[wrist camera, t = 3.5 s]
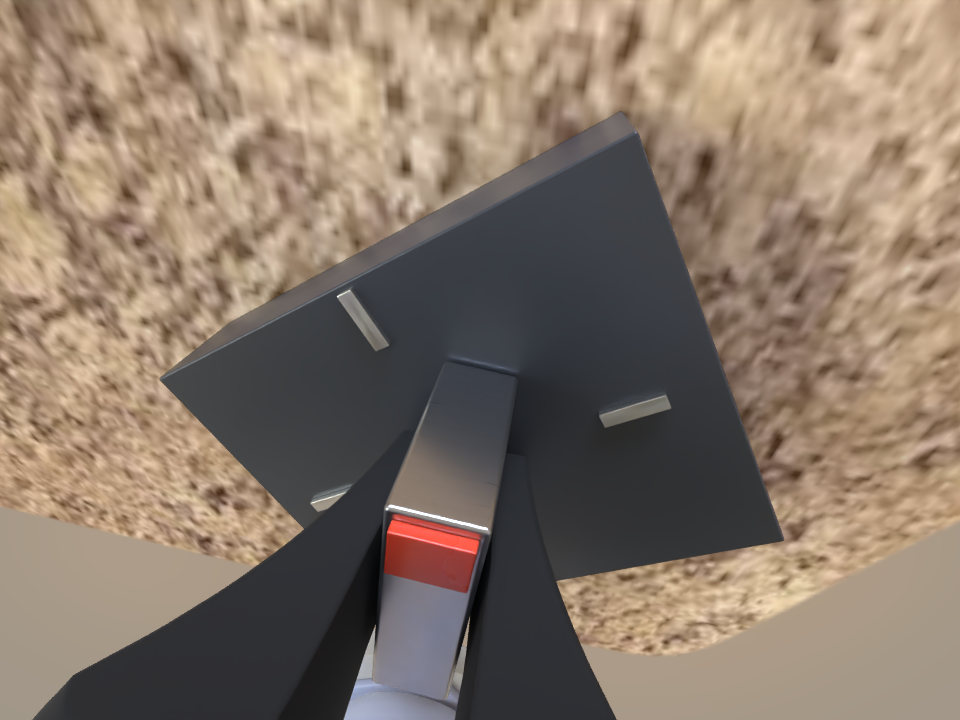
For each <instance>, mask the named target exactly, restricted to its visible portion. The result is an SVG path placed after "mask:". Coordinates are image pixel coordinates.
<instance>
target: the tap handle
mask: <svg viewBox="0 0 960 720" xmlns="http://www.w3.org/2000/svg"><path fill="white" fill-rule="evenodd" d="M517 385H518V380H517V378H516V377H515V376H511V375H506V374H502V373H497V372H493V371H488V370H484V369H480V368H475V367H471V366H466V365H462V364H457V363H453V362H445V363H444V365H443V367H442V369H441V372H440V374H439V377H438V379H437V381H436V384H435V386H434V389H433V391H432V393H431V396H430V398H429V401H428V403H427V405H426V408H425V410H424V413H423V415H422V417H421V420H420V422H419V425H418V427H417V429H416V432H415V434H414V436H413V439H412V441H411V444H410V446H409V448H408V451H407V453H406V456H405V458H404V460H403V463H402V465H401V468H400V470H399V472H398V475H397V477H396V480H395V482H394V484H393V487H392V489H391V492H390V494H389V496H388V499H387V501H386V504H385V506H384V518H383V532H382V546H381V560H380V574H379V588H378V602H377V617H376V631H375V645H374V659H373V673H372V680H373V681H374V682H375V683H378V684H382V685H385V686H389V687H393V688H397V689H401V690H405V691H408V692H412V693H416V694H420V695H424V696H428V697H431V698H435V699H439V700H446V699H447V697H448V695H449V692H450V688H451V684H452V680H453V677H454V673H455V669H456V666H457V662H458V658H459V654H460V651H461V647H462V643H463V639H464V636H465V632H466V628H467V624H468V620H469V617H470V613H471V610H472V606H473V602H474V598H475V595H476V591H477V587H478V583H479V580H480V576H481V572H482V569H483V565H484V561H485V557H486V554H487V550H488V546H489V542H490V539H491V535H492V531H493V525H494V519H495V513H496V507H497V502H498V496H499V490H500V484H501V478H502V472H503V467H504V461H505V455H506V449H507V443H508V438H509V432H510V426H511V420H512V414H513V408H514V403H515V397H516V391H517Z"/></svg>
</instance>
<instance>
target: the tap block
mask: <svg viewBox="0 0 960 720" xmlns="http://www.w3.org/2000/svg"><path fill="white" fill-rule="evenodd" d="M445 362H453V363H457V364H462V365H466V366H471V367H475V368H480V369H484V370H488V371H493V372H497V373H502V374H506V375H511V376H515V377H516V378H517V380H518V385H517V391H516V397H515V403H514V408H513V414H512V420H511V426H510V432H509V438H508V443H507V449H506V452H507V453H511V454H516V455H520V456H525V457H526V458H527V459H528V461H529V469H530V479H531V486H532V492H533V497H534V503H535V508H536V512H537V517H538V521H539V525H540V529H541V532H542V536H543V540H544V544H545V548H546V551H547V554H548V558H549V561H550V564H551V567H552V570H553V573H554V576H555V579H556V581H558V580H564V579H570V578H576V577H581V576H587V575H593V574H598V573H604V572H610V571H615V570H621V569H627V568H633V567H638V566H644V565H650V564H655V563H661V562H667V561H672V560H678V559H684V558H690V557H695V556H701V555H707V554H712V553H718V552H724V551H729V550H735V549H741V548H747V547H752V546H758V545H764V544H769V543H775V542H781V541H784V537H783V534H782V531H781V528H780V526H779V523H778V520H777V517H776V515H775V512H774V509H773V506H772V503H771V501H770V498H769V495H768V492H767V489H766V487H765V484H764V481H763V478H762V476H761V473H760V470H759V467H758V464H757V462H756V459H755V456H754V453H753V451H752V448H751V445H750V442H749V439H748V437H747V434H746V431H745V428H744V426H743V423H742V420H741V417H740V414H739V412H738V409H737V406H736V403H735V401H734V398H733V395H732V392H731V389H730V387H729V384H728V381H727V378H726V375H725V373H724V370H723V367H722V364H721V362H720V359H719V356H718V353H717V350H716V348H715V345H714V342H713V339H712V337H711V334H710V331H709V328H708V325H707V323H706V320H705V317H704V314H703V312H702V309H701V306H700V303H699V300H698V298H697V295H696V292H695V289H694V286H693V284H692V281H691V278H690V275H689V273H688V270H687V267H686V264H685V261H684V259H683V256H682V253H681V250H680V248H679V245H678V242H677V239H676V236H675V234H674V231H673V228H672V225H671V223H670V220H669V217H668V214H667V211H666V209H665V206H664V203H663V200H662V198H661V195H660V192H659V189H658V186H657V184H656V181H655V178H654V175H653V172H652V170H651V167H650V164H649V161H648V159H647V156H646V153H645V150H644V147H643V145H642V142H641V139H640V136H639V134H638V132H637V131H636V129H635V128H634V127H633V125H632V124H631V123H630V121H629V120H628V119H627V117H626V116H625V115H624V113H623V112H622V111H621V112H618V113H616V114H614V115H612V116H611V117H609V118H607V119H605V120H603V121H601V122H600V123H598V124H596V125H594V126H592V127H590V128H588V129H587V130H585V131H583V132H581V133H579V134H577V135H576V136H574V137H572V138H570V139H568V140H566V141H564V142H563V143H561V144H559V145H557V146H555V147H553V148H551V149H550V150H548V151H546V152H544V153H542V154H540V155H539V156H537V157H535V158H533V159H531V160H529V161H527V162H526V163H524V164H522V165H520V166H518V167H516V168H515V169H513V170H511V171H509V172H507V173H505V174H503V175H502V176H500V177H498V178H496V179H494V180H492V181H490V182H489V183H487V184H485V185H483V186H481V187H479V188H478V189H476V190H474V191H472V192H470V193H468V194H466V195H465V196H463V197H461V198H459V199H457V200H455V201H453V202H452V203H450V204H448V205H446V206H444V207H442V208H441V209H439V210H437V211H435V212H433V213H431V214H429V215H428V216H426V217H424V218H422V219H420V220H418V221H417V222H415V223H413V224H411V225H409V226H407V227H405V228H404V229H402V230H400V231H398V232H396V233H394V234H392V235H391V236H389V237H387V238H385V239H383V240H381V241H380V242H378V243H376V244H374V245H372V246H370V247H368V248H367V249H365V250H363V251H361V252H359V253H357V254H356V255H354V256H352V257H350V258H348V259H346V260H344V261H343V262H341V263H339V264H337V265H335V266H333V267H331V268H330V269H328V270H326V271H324V272H322V273H320V274H319V275H317V276H315V277H313V278H311V279H309V280H307V281H306V282H304V283H302V284H300V285H298V286H296V287H295V288H293V289H291V290H289V291H287V292H285V293H283V294H282V295H280V296H278V297H276V298H274V299H272V300H270V301H269V302H267V303H265V304H263V305H261V306H259V307H258V308H256V309H254V310H252V311H250V312H248V313H246V314H245V315H243V316H241V317H239V318H237V319H235V320H234V321H232V322H230V323H228V324H227V325H226V326H225V327H223V328H222V329H221V330H220V331H218V332H217V333H216V334H215V335H213V336H212V337H211V338H209V339H208V340H207V341H206V342H204V343H203V344H202V345H201V346H199V347H198V348H197V349H196V350H194V351H193V352H192V353H190V354H189V355H188V356H187V357H185V358H184V359H183V360H182V361H180V362H179V363H178V364H177V365H175V366H174V367H173V368H172V369H170V370H169V371H168V372H166V373H165V374H164V375H163V376H161V377H160V381H161V382H162V383H163V384H164V385H165V386H166V387H167V388H168V389H169V390H170V391H171V392H172V393H173V394H174V395H175V396H176V397H177V398H178V399H179V400H180V401H181V402H182V403H183V404H184V405H185V407H186V408H187V409H188V410H189V411H190V412H191V413H192V414H193V415H194V416H195V417H196V418H197V419H198V420H199V421H200V422H201V423H202V424H203V425H204V426H205V427H206V428H207V429H208V430H209V431H210V432H211V433H212V434H213V435H214V436H215V437H216V438H217V439H218V441H219V442H220V443H221V444H222V445H223V446H224V447H225V448H226V449H227V450H228V451H229V452H230V453H231V454H232V455H233V456H234V457H235V458H236V459H237V460H238V461H239V462H240V463H241V464H242V465H243V466H244V467H245V468H246V469H247V470H248V471H249V472H250V473H251V475H252V476H253V477H254V478H255V479H256V480H257V481H258V482H259V483H260V484H261V485H262V486H263V487H264V488H265V489H266V490H267V491H268V492H269V493H270V494H271V495H272V496H273V497H274V498H275V499H276V500H277V501H278V502H279V503H280V504H281V505H282V506H283V508H284V509H285V510H286V511H287V512H288V513H289V514H290V515H291V516H292V517H293V518H294V519H295V520H296V521H297V522H298V523H299V524H300V525H301V526H302V527H303V528H304V529H305V528H307V527H308V526H309V525H310V524H311V523H313V522H314V521H315V520H316V519H317V518H318V517H319V516H320V515H322V514H323V513H324V512H325V511H326V510H327V509H328V508H329V507H330V506H332V505H333V504H334V503H335V502H336V501H337V500H338V499H339V498H340V497H341V496H343V495H344V494H345V493H346V492H347V491H348V490H349V489H350V488H351V487H352V486H353V485H354V484H355V483H356V482H357V481H358V480H359V479H360V478H361V477H362V476H363V475H364V474H365V473H366V472H367V471H368V470H369V469H370V467H371V466H372V465H373V464H374V463H375V462H376V461H377V460H378V459H379V458H380V457H381V455H382V454H383V453H384V452H385V451H386V450H387V449H388V447H389V446H390V445H391V444H392V443H393V441H394V440H395V439H396V438H397V436H398V435H399V434H400V433H401V432H402V431H404V430H409V431H414V432H416V429H417V427H418V425H419V422H420V420H421V417H422V415H423V413H424V410H425V408H426V405H427V403H428V401H429V398H430V396H431V393H432V391H433V389H434V386H435V384H436V381H437V379H438V377H439V374H440V372H441V369H442V367H443V365H444V363H445Z"/></svg>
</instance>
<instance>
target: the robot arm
mask: <svg viewBox="0 0 960 720" xmlns="http://www.w3.org/2000/svg"><path fill="white" fill-rule="evenodd" d="M414 434H415V432H414V431H409V430H404V431H402V432H401V433H400V434H399V435H398V436H397V438H396V439H395V440H394V441H393V443H392V444H391V445H390V446H389V447H388V449H387V450H386V451H385V452H384V453H383V454H382V455H381V457H380V458H379V459H378V460H377V461H376V462H375V463H374V464H373V465H372V466H371V467H370V469H369V470H368V471H367V472H366V473H365V474H364V475H363V476H362V477H361V478H360V479H359V480H358V481H357V482H356V483H355V484H354V485H353V486H352V487H351V488H350V489H349V490H348V491H347V492H346V493H345V494H344V495H343V496H341V497H340V498H339V499H338V500H337V501H336V502H335V503H334V504H333V505H332V506H330V507H329V508H328V509H327V510H326V511H325V512H324V513H323V514H322V515H320V516H319V517H318V518H317V519H316V520H315V521H314V522H313V523H311V524H310V525H309V526H308V527H307V528H305V529H304V530H303V531H302V532H301V533H299V534H298V535H297V536H296V537H294V538H293V539H292V540H291V541H289V542H288V543H287V544H285V545H284V546H283V547H282V548H280V549H279V550H278V551H276V552H275V553H274V554H272V555H271V556H270V557H268V558H267V559H266V560H264V561H263V562H261V563H260V564H259V565H257V566H256V567H254V568H253V569H252V570H250V571H249V572H247V573H246V574H245V575H243V576H242V577H240V578H239V579H238V580H236V581H235V582H233V583H232V584H230V585H229V586H227V587H226V588H224V589H223V590H221V591H219V592H218V593H216V594H215V595H213V596H212V597H210V598H209V599H207V600H205V601H203V602H202V603H200V604H199V605H197V606H195V607H194V608H192V609H191V610H189V611H187V612H186V613H184V614H182V615H181V616H179V617H178V618H176V619H174V620H173V621H171V622H169V623H168V624H166V625H165V626H163V627H161V628H159V629H157V630H156V631H154V632H152V633H150V634H149V635H147V636H145V637H143V638H141V639H140V640H138V641H136V642H134V643H132V644H130V645H128V646H126V647H125V648H123V649H121V650H119V651H118V652H115V653H113V654H112V655H110V656H108V657H106V658H104V659H103V660H101V661H99V662H97V663H95V664H93V665H91V666H89V667H87V668H86V669H84V670H82V671H80V672H78V673H76V674H75V675H73V676H72V677H71V678H70V680H69V681H68V682H67V683H66V684H65V685H64V686H63V687H62V688H61V689H60V690H59V692H58V693H57V694H56V695H55V696H54V697H53V698H52V699H51V700H50V701H49V702H48V703H47V704H46V705H45V706H44V707H43V708H42V709H41V711H40V712H39V713H38V714H37V715H36V716H35V717H34V719H33V720H616V717H615V715H614V713H613V711H612V709H611V708H610V705H609V703H608V701H607V699H606V697H605V695H604V693H603V692H602V689H601V687H600V685H599V683H598V681H597V679H596V677H595V675H594V673H593V671H592V669H591V667H590V664H589V662H588V660H587V658H586V656H585V653H584V651H583V649H582V646H581V644H580V642H579V639H578V637H577V635H576V633H575V630H574V628H573V625H572V623H571V620H570V618H569V615H568V613H567V610H566V607H565V605H564V602H563V599H562V597H561V594H560V591H559V588H558V585H557V582H556V579H555V576H554V573H553V570H552V567H551V564H550V561H549V558H548V554H547V551H546V548H545V544H544V540H543V536H542V532H541V529H540V525H539V521H538V517H537V512H536V508H535V503H534V497H533V492H532V486H531V479H530V469H529V461H528V459H527V458H526V457H525V456H520V455H516V454H511V453H507V452H506V455H505V461H504V467H503V472H502V478H501V484H500V490H499V496H498V502H497V507H496V513H495V519H494V525H493V531H492V535H491V539H490V542H489V546H488V550H487V554H486V557H485V561H484V565H483V569H482V572H481V576H480V580H479V583H478V587H477V591H476V595H475V598H474V602H473V606H472V610H471V613H470V623H469V632H468V641H467V651H466V658H465V665H464V672H463V678H462V684H461V689H460V693H459V692H458V691H457V690H456V689H455V688H454V687H453V686H452V685H451V688H450V692H449V695H448V697H447V699H446V700H439V699H435V698H431V697H428V696H424V695H420V694H416V693H412V692H408V691H405V690H401V689H397V688H393V687H389V686H385V685H382V684H378V683H375V682H374V681H373V680H372V678H370V679H361V680H356V679H357V676H358V673H359V670H360V667H361V663H362V660H363V657H364V654H365V651H366V648H367V645H368V643H369V640H370V637H371V635H372V632H373V629H374V627H375V625H376V617H377V602H378V588H379V574H380V560H381V546H382V532H383V518H384V506H385V504H386V501H387V499H388V496H389V494H390V492H391V489H392V487H393V484H394V482H395V480H396V477H397V475H398V472H399V470H400V468H401V465H402V463H403V460H404V458H405V456H406V453H407V451H408V448H409V446H410V444H411V441H412V439H413V436H414Z"/></svg>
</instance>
